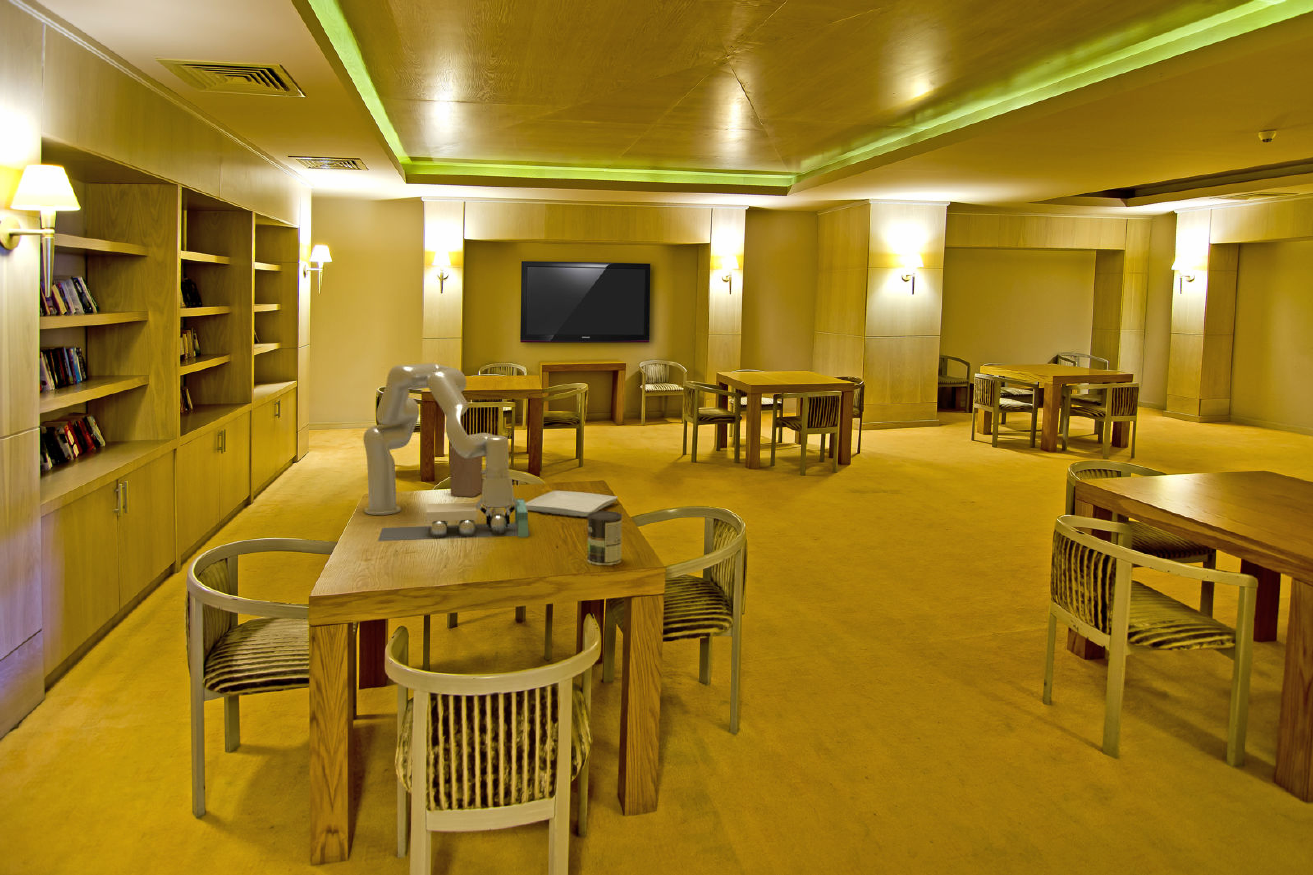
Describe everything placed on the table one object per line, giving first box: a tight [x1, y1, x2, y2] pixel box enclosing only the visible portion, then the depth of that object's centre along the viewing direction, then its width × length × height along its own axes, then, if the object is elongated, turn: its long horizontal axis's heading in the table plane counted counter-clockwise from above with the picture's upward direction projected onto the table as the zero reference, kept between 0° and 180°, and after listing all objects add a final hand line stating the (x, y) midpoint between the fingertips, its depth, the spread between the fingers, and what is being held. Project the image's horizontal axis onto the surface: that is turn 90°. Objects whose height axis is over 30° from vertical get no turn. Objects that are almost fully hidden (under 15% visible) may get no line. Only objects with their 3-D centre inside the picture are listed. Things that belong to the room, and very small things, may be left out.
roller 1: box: [430, 521, 448, 538], centre depth 305 cm, size 16×5×5 cm, turn 12°
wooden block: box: [449, 445, 483, 498], centre depth 364 cm, size 10×10×20 cm
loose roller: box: [490, 508, 507, 533], centre depth 309 cm, size 16×5×5 cm, turn 12°
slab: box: [425, 502, 478, 522], centre depth 305 cm, size 12×16×3 cm
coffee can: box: [586, 510, 623, 566], centre depth 276 cm, size 10×10×14 cm
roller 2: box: [458, 520, 476, 537], centre depth 307 cm, size 16×5×5 cm, turn 12°
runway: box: [377, 498, 531, 542], centre depth 306 cm, size 21×48×8 cm, turn 102°
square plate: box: [525, 490, 619, 518], centre depth 344 cm, size 27×27×4 cm
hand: (498, 525), depth 309 cm, fingers closed on loose roller, 5 cm apart
